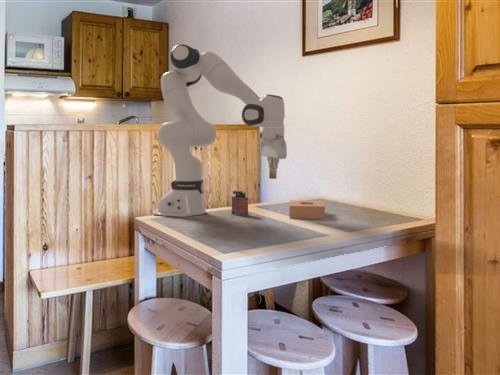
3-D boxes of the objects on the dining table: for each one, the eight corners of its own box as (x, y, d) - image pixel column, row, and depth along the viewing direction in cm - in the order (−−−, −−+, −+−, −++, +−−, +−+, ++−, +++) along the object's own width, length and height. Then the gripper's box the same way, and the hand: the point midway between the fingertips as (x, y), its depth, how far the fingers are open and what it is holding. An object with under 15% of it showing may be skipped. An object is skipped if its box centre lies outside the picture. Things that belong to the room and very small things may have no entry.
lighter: (250, 214, 187) (250, 191, 185) (245, 216, 184) (245, 192, 183) (234, 212, 191) (234, 189, 190) (229, 214, 188) (229, 190, 187)
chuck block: (289, 218, 179) (289, 205, 178) (290, 211, 193) (290, 200, 192) (324, 218, 177) (324, 206, 177) (323, 212, 191) (323, 201, 190)
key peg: (268, 178, 185) (268, 156, 184) (274, 177, 187) (274, 156, 186) (271, 178, 183) (271, 156, 182) (277, 178, 184) (278, 156, 183)
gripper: (291, 135, 174) (290, 170, 176) (271, 134, 193) (271, 166, 195) (276, 135, 172) (275, 171, 173) (257, 134, 191) (257, 166, 193)
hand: (273, 168), depth 184 cm, fingers closed on key peg, 3 cm apart
